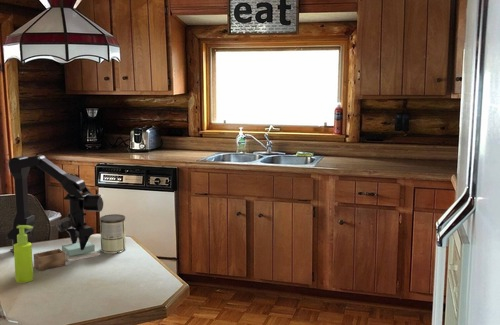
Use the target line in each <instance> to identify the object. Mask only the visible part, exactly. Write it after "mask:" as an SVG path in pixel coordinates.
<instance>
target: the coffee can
mask: <svg viewBox="0 0 500 325" xmlns="http://www.w3.org/2000/svg"><path fill="white" fill-rule="evenodd" d="M99 221H100V222H99V223H100V227H99V228H100V251H101V252H102V253H103V252H104V254H110V253H111V254H118V253H117V252H120V251H123V250H124V249H125V248H126V247H127V246H126V245H127V244H126V216H125V215H123V214H120V213H119V214H118V213H117V214H116V213H113V214H105V215H102V216H100V217H99ZM126 249H127V248H126ZM123 252H124V251H123ZM120 253H121V252H120Z"/></svg>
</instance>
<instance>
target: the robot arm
mask: <svg viewBox="0 0 500 325" xmlns="http://www.w3.org/2000/svg"><path fill="white" fill-rule="evenodd" d="M35 166H36V167H37V168H39V170H42V171H43V172H44V173H46V174H48V176H50V177H51V178H53V179H54V180H56V181H57V182H58V183H59V184H60V185H61V187H62V189H63V190H64V191H66V193H67V194H66V195H65V196H64V197H63V200H64V201H65V200H66V201H68V204H69V205H68V208H69V210H68V211H69V212H67V214H66V216H65V217H63V218H61V219H59V220H57V221H56V222H54V225H55V227H56V229H57V231H59V232H60V233H63V232H65V231H66V232H67V233H68V235H69V239H70V241H71V244H74V243H79V244H80V249H81V250H84V248H85V246H86V243H87V241H88V242H89V239H90V238H91V236H92V235H94V234H95V229H94V228H93V227H91V226H90V225H87V222H86V221H85V220H86V219H85V216H87V212H102V211H103V208H104V200H103V198H102V196H101V194H92V192H91V191H90V189H89V188H88V187H87V186H86V182H85V180H83V179H82V178H80V177H78V176H76V175H73V174H70V173H68V172H67V171H64V170H63V169H62V168H61V167H60V166H58V165H57V164H55V163H54V162H52V161H51V160H49V159H48V158H46V156H45V155H43V154H37V155H31V156H27V155H19V156H16V157H12V158H10V159H9V161H8V169H9V172H10V174H11V176H12V177H13V181H14V182H13V184H14V198H15V211H16V212H15V215H14V219H13V220H12V221H13V222H12V229H11V230H9V232H8V233H7V234H6V236H7V237H8V240H11V242H12V248H11V249H9V251H10V252H11V253H13V254H14V244H16V243H17V235H18V234H19V228H17V226H19V225H29V226H32V227H33V228H31V229H27V228H24V232H25V234H27V236H29V235H30V234H31V232H32V230H33V229H34V227H35V225H36V222H35V219H36V218H35V217H36V216H35V214H34V215H33V214H31V212H30V208H29V207H30V206H29V205H30V204H29V193H28V192H29V191H28V190H29V189H28V176H29V173H30V170H31V167H35ZM85 211H86V212H85Z"/></svg>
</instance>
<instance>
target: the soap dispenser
mask: <svg viewBox="0 0 500 325" xmlns="http://www.w3.org/2000/svg"><path fill="white" fill-rule="evenodd" d="M17 228H19V234H18V235H17V243H16V244H14V253H13V254H14V255H13V256H14V257H13V259H14V260H13V261H14V273H15V275H14V276H15V282H16V283H19V284H20V283H22V284H23V283H28V282H32V281H33V280H34V261H33V247H32V243H31V242H29V241H28V235H27V234H25V232H24V228H27V229H31V228H33V227H32V226H29V225H19V226H17ZM33 229H34V228H33Z"/></svg>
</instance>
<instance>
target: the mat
mask: <svg viewBox="0 0 500 325" xmlns="http://www.w3.org/2000/svg"><path fill="white" fill-rule="evenodd" d="M100 255H101V253H100V252H98V251H96V250H95V251H93V252H88V253H84V254H79V255H74V256H69V255H68V254H67V253H65V260H66V261H67V262H68V263H69V262H74V261H78V260H83V259H87V258H92V257H93V258H94V257H97V256H100Z"/></svg>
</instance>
